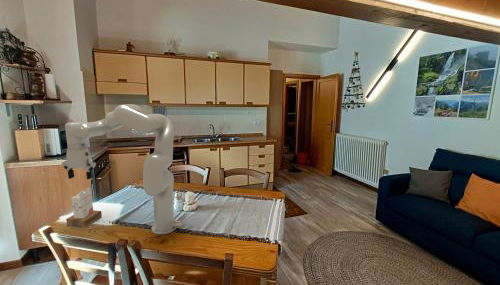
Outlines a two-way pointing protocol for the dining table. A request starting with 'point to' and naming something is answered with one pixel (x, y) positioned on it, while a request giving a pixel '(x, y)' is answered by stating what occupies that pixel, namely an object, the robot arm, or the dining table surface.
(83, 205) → the ink cartridge box
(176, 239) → the dining table surface
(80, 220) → the walnut block
